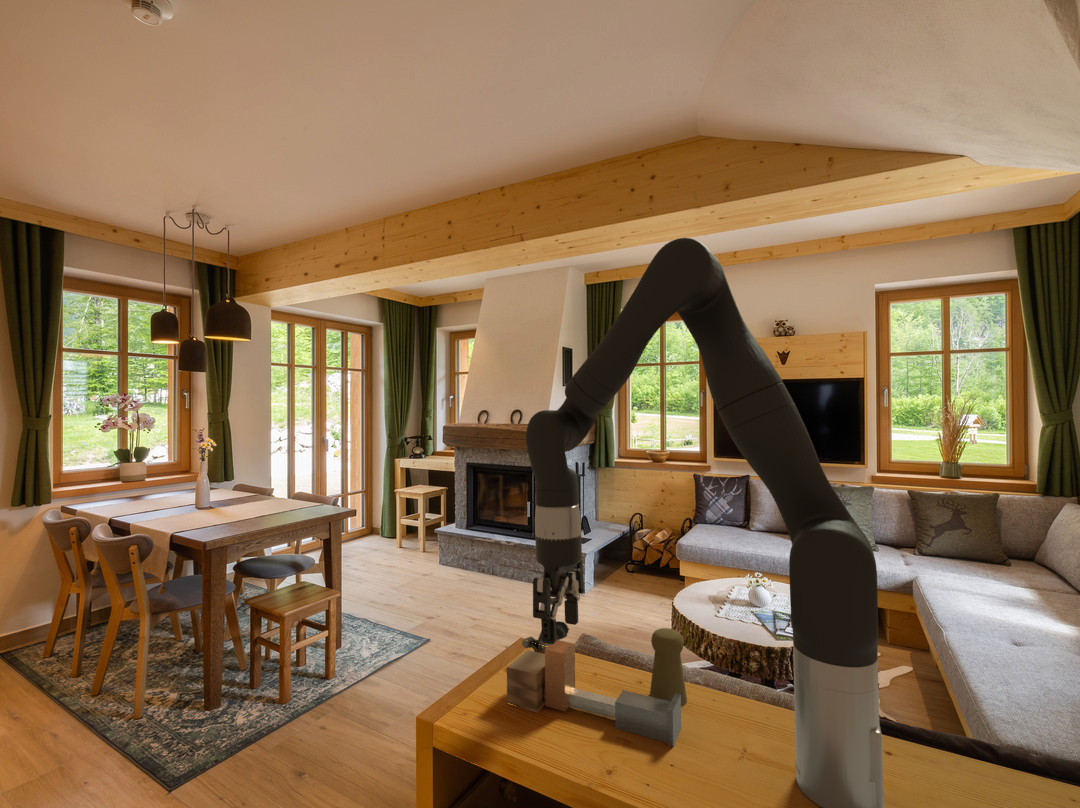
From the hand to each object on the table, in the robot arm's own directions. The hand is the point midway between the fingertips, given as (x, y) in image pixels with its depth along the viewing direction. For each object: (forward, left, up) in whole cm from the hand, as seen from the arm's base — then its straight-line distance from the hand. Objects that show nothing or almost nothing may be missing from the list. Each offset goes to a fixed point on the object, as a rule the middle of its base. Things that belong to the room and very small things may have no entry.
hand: (561, 632), depth 85 cm
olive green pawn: (-15, -10, -12) cm, 21 cm away
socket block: (+5, 0, -12) cm, 13 cm away
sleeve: (-14, 0, -12) cm, 18 cm away
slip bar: (-3, 0, -11) cm, 12 cm away
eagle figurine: (+10, -14, -12) cm, 21 cm away
